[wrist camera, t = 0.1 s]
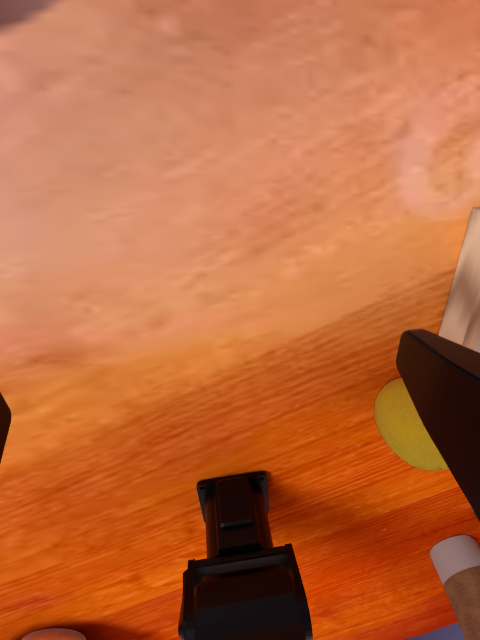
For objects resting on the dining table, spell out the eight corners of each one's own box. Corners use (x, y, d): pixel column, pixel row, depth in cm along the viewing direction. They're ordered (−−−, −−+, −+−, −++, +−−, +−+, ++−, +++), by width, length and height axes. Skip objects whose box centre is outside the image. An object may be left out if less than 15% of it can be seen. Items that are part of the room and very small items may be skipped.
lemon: (428, 350, 29) (502, 430, 22) (420, 400, 32) (482, 484, 25) (359, 363, 29) (412, 449, 22) (357, 412, 32) (403, 500, 25)
